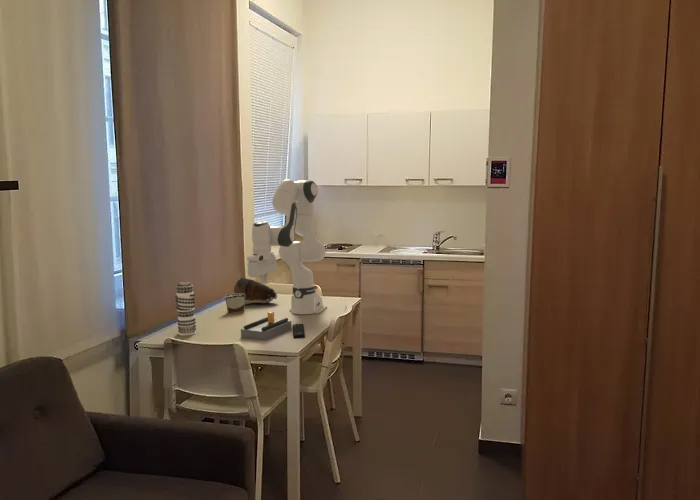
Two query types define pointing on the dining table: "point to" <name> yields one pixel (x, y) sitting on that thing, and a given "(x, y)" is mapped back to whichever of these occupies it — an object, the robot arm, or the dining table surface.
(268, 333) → the tray
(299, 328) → the remote control
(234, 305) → the food container
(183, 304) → the decorative candle
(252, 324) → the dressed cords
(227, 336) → the dining table surface
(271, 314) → the lever
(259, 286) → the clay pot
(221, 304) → the dining table surface
